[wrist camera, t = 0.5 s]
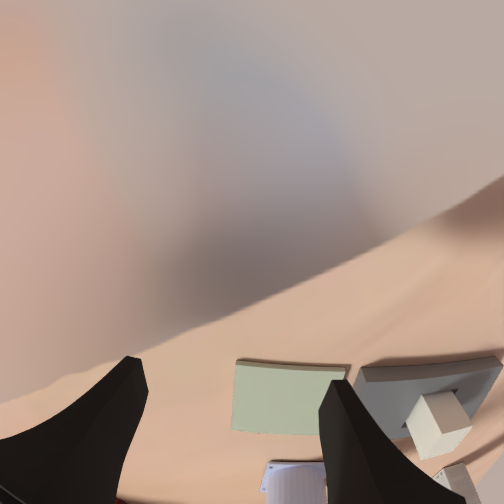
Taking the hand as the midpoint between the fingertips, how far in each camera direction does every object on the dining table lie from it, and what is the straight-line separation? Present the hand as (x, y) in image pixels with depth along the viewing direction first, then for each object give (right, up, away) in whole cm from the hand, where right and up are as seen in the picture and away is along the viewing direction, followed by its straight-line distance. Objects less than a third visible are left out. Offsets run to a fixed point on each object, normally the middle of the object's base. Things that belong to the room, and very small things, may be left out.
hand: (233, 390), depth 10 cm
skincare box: (+35, -34, +19) cm, 52 cm away
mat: (+4, -8, +13) cm, 16 cm away
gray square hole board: (+18, -10, +13) cm, 24 cm away
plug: (+18, -10, +13) cm, 24 cm away
